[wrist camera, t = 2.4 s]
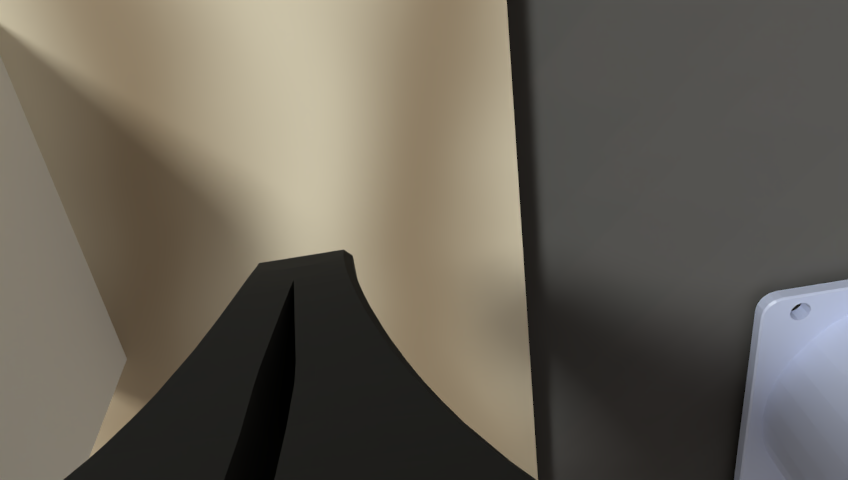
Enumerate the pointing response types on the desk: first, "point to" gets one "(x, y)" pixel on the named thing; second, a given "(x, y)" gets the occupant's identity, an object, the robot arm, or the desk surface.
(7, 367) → the tile
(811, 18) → the desk surface
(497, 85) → the board
